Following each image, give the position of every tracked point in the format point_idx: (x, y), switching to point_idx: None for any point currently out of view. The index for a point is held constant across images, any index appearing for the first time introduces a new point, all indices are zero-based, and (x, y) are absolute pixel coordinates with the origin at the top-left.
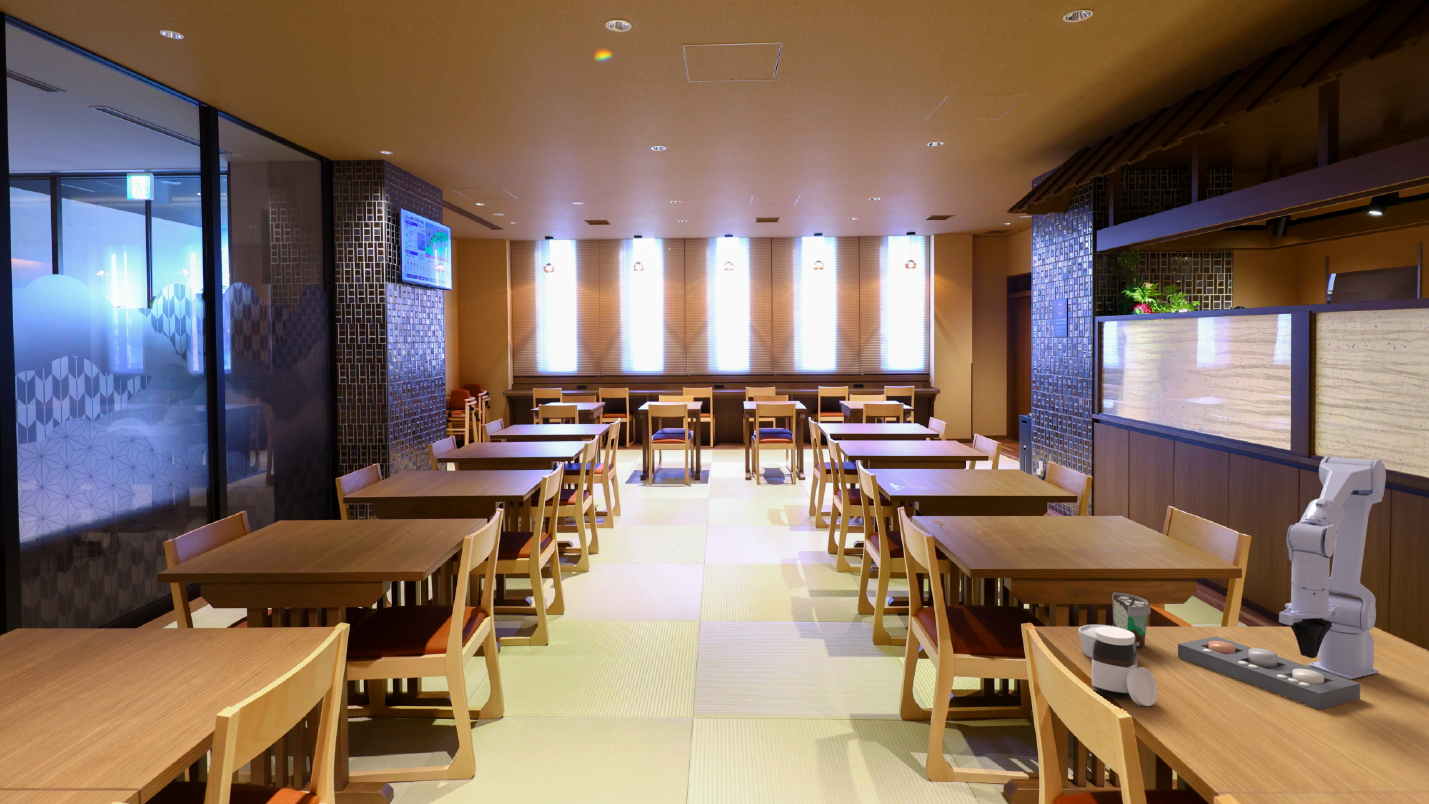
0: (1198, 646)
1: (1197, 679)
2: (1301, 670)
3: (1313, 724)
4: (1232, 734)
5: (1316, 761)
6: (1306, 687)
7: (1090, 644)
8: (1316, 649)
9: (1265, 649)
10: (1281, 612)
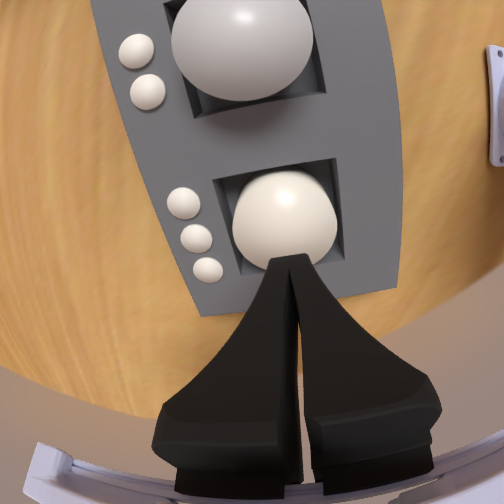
0: None
1: (27, 70)
2: (289, 201)
3: (140, 324)
4: (12, 310)
5: (82, 375)
6: (197, 284)
7: None
8: (297, 340)
9: (299, 3)
10: (33, 498)
